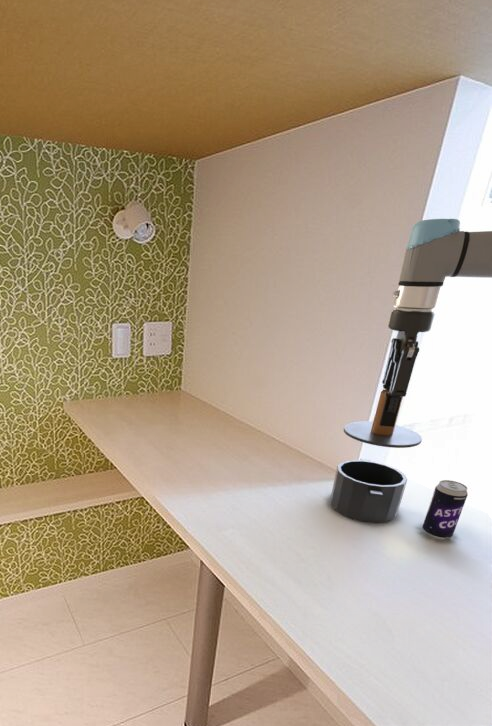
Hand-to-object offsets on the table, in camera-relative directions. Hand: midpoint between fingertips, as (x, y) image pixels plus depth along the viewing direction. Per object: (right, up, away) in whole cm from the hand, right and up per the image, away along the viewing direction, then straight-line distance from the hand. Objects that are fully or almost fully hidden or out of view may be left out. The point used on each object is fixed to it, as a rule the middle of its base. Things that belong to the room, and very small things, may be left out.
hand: (384, 421), depth 96 cm
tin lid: (0, -3, +1) cm, 3 cm away
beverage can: (+11, -25, 0) cm, 27 cm away
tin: (0, -20, +10) cm, 22 cm away
